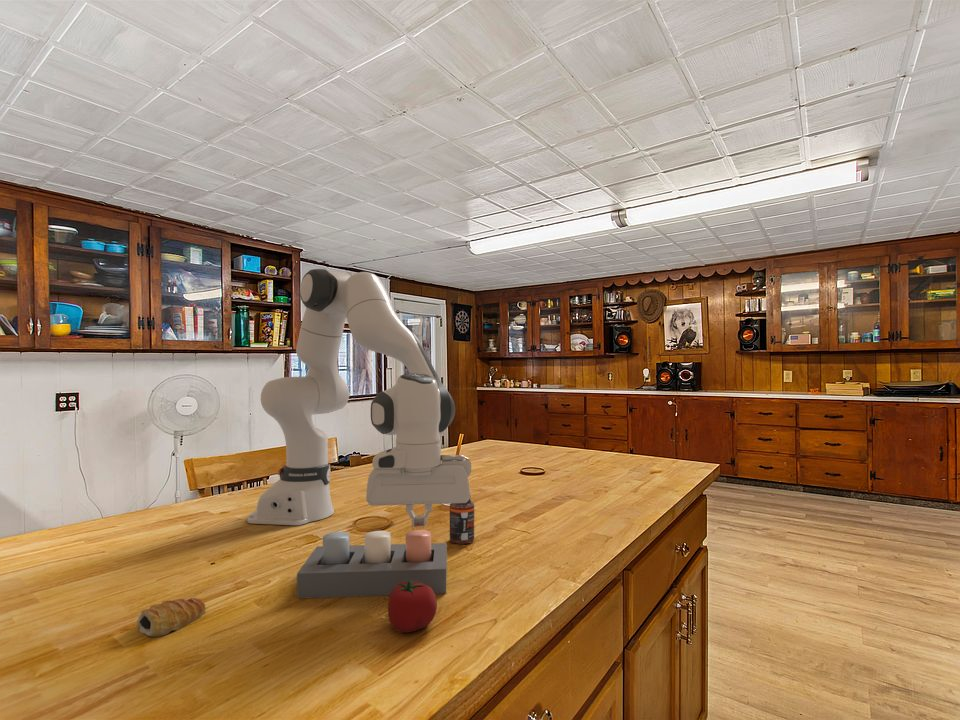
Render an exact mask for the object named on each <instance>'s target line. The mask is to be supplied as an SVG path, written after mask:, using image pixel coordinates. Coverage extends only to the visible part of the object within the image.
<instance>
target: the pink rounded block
mask: <svg viewBox="0 0 960 720" xmlns="http://www.w3.org/2000/svg"><path fill="white" fill-rule="evenodd" d="M431 543H432V533H431V531H429V530H426V529H414V530H410V531H407V532H406V533H405V544H406V562H431Z"/></svg>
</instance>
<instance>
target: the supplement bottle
mask: <svg viewBox="0 0 960 720" xmlns="http://www.w3.org/2000/svg"><path fill="white" fill-rule="evenodd" d="M449 540H450V542H451V543H453V544H457V545H466V544H470V543H472V542H474V540H475V504H474V502H473V501H472V500H471V496H470V499H469V500H468V501H467V503H450V504H449Z"/></svg>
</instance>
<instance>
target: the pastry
mask: <svg viewBox="0 0 960 720" xmlns="http://www.w3.org/2000/svg"><path fill="white" fill-rule="evenodd" d="M205 612H206V604H205V603H204V601H203V600H202V599H201V598H197V597H190V598H188V599H186V598H178V599H174V600H169V599H167V600H165V601H162V602H161V603H158V604H153V605H150V607H149V608H146V609H143V610H142V611H141V612H140V615H139V616H138V619H137V622H136V626H137V628H138V629H139V632H140V633H142V634H144V635H146V636H148V637H152V638H153V637H162V636H166V635H168V634H169V633H170V632H172V631H179V630H181V629H182V628H184V627H186V626H188V625H190V624H191V623H193V622H195V621H196V620H198V619H200V618H201V617H202V616H203V615H204V614H205Z"/></svg>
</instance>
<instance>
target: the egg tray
mask: <svg viewBox="0 0 960 720" xmlns="http://www.w3.org/2000/svg"><path fill="white" fill-rule="evenodd" d="M447 543H448V542H436V543H435V542H434V543H432V542H431V562H406V543H399V544H398V543H397V544H391V543H390V544H391V563H370V564H365V544H361V545H359V544H357V545H349V556H350V562H349V564H335V565H323V545H321V546H319V545H318V546H316V547H315V548H314V549H313V551H312V552H311V554H310V556H308V558H307V559H306V560H305V561H304V563H303V565H302V566H301V567H300V569H299V570H298V571H297V573H296V598H297V599H314V598H315V599H317V598H318V599H319V598H349V597H351V598H352V597H373V596H374V597H379V596H390V594H391V592H392V590H393V589H394V588H395V587H396V586H397V585H398V584H399V583H403V582H407V581H416V582H419V583H423V584H425V585H427V586H429V587H431V588H432V590H433V592H434V593H435V595H438V594H440V595H441V594H447V578H448V577H447V576H448V575H447V573H448V572H447V571H448V549H447V548H448V547H447V546H448V544H447Z"/></svg>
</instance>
